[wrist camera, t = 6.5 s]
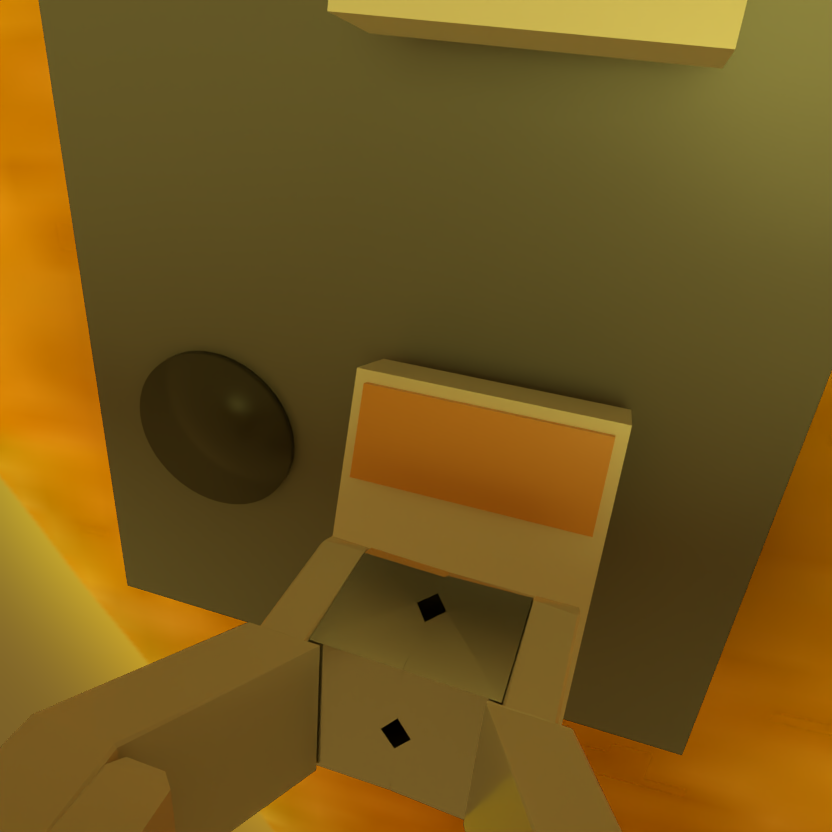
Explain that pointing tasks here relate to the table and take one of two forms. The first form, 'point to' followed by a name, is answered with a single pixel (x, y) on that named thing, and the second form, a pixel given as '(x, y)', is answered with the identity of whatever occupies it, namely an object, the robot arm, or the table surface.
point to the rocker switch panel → (450, 289)
